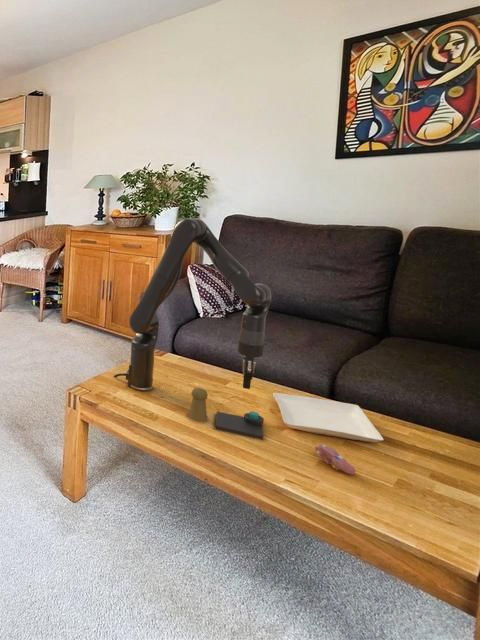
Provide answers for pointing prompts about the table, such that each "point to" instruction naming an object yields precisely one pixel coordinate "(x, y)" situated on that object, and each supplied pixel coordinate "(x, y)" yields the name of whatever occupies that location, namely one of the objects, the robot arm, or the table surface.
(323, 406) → the square plate
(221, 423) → the scale
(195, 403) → the cork
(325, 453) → the pink tapered lump
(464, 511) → the table surface
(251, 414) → the button
